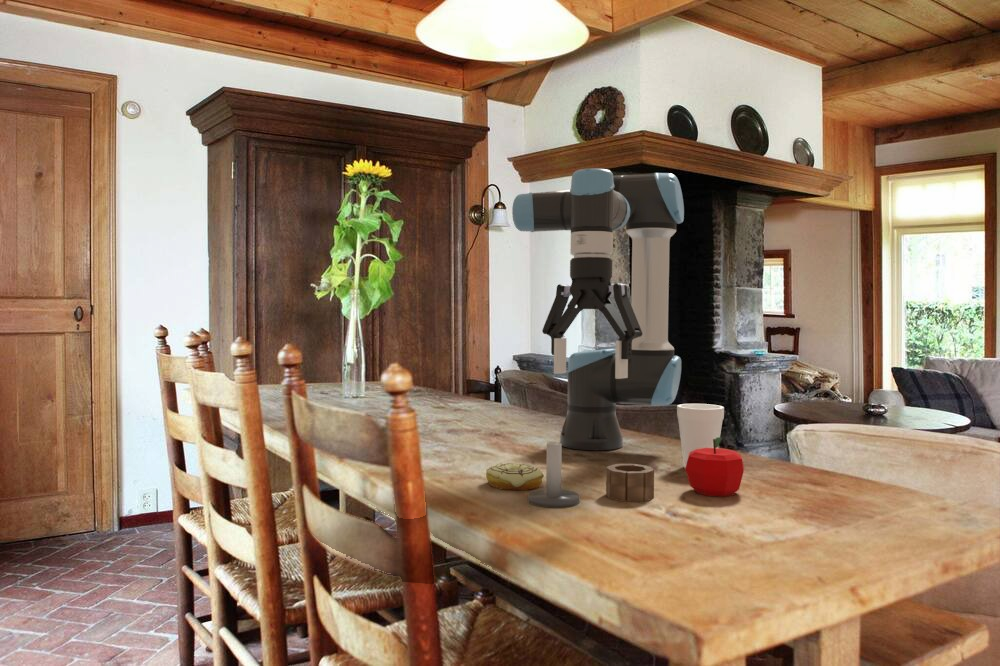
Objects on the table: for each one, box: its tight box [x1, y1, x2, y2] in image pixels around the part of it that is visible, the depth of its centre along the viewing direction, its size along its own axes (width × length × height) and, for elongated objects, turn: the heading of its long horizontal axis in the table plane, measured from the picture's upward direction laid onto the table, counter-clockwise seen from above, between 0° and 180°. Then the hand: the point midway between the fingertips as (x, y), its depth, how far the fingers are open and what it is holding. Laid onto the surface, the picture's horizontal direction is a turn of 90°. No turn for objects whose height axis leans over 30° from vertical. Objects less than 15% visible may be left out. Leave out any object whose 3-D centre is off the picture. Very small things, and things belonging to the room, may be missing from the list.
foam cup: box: [676, 403, 725, 469], centre depth 168 cm, size 10×9×13 cm
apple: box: [684, 437, 745, 497], centre depth 146 cm, size 11×11×10 cm
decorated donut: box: [485, 462, 545, 491], centre depth 151 cm, size 10×11×4 cm
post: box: [527, 442, 581, 509], centre depth 139 cm, size 9×9×10 cm
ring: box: [605, 463, 655, 503], centre depth 143 cm, size 8×8×5 cm
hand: (589, 376), depth 143 cm, fingers open, 13 cm apart
